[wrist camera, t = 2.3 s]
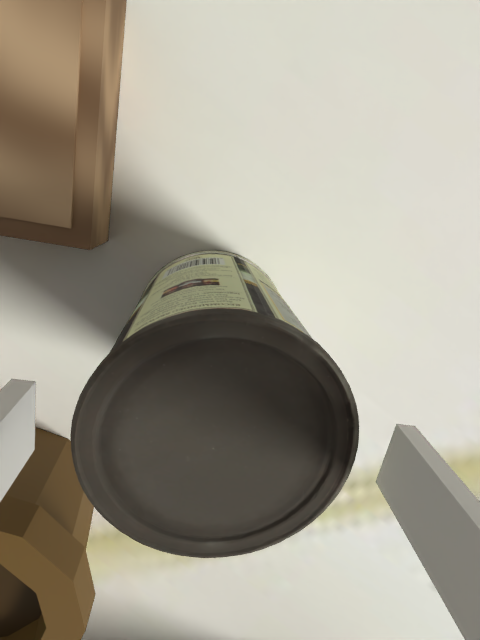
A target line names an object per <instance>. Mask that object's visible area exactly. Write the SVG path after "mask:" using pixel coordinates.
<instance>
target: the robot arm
mask: <svg viewBox="0 0 480 640" xmlns="http://www.w3.org/2000/svg"><path fill="white" fill-rule="evenodd" d="M35 402H36V382H35V381H26V380H18V379H11V380H10V381H9V382H8V383H7V384H6V385H5V386H4V387H3V388H2V389H1V390H0V502H1V500H2V499H3V497H4V496H5V494H6V493H7V491H8V490H9V488H10V487H11V485H12V483H13V482H14V480H15V479H16V477H17V476H18V474H19V473H20V471H21V470H22V468H23V467H24V465H25V463H26V462H27V460H28V459H29V457H30V456H31V454H32V453H33V451H34V450H35ZM376 483H377V485H378V487H379V488H380V490H381V492H382V494H383V496H384V497H385V499H386V501H387V503H388V504H389V506H390V508H391V510H392V511H393V513H394V515H395V517H396V519H397V520H398V522H399V524H400V526H401V527H402V529H403V531H404V533H405V534H406V536H407V538H408V540H409V542H410V543H411V545H412V547H413V549H414V550H415V552H416V554H417V556H418V557H419V559H420V561H421V563H422V565H423V566H424V568H425V570H426V572H427V573H428V575H429V577H430V579H431V580H432V582H433V584H434V586H435V588H436V589H437V591H438V593H439V595H440V596H441V598H442V600H443V602H444V603H445V605H446V607H447V609H448V611H449V612H450V614H451V616H452V618H453V619H454V621H455V623H456V625H457V626H458V628H459V630H460V632H461V634H462V635H463V637H464V639H465V640H480V501H479V500H478V499H477V498H476V497H475V495H474V494H473V493H472V492H471V491H470V490H469V488H468V487H467V486H466V485H465V484H464V483H463V481H462V480H461V479H460V478H459V477H458V476H457V474H456V473H455V472H454V471H453V470H452V469H451V467H450V466H449V465H448V464H447V463H446V462H445V460H444V459H443V458H442V457H441V456H440V455H439V453H438V452H437V451H436V450H435V449H434V448H433V446H432V445H431V444H430V443H429V442H428V441H427V439H426V438H425V437H424V436H423V435H422V434H421V432H420V431H419V430H418V429H417V428H416V427H415V426H410V425H401V424H396V427H395V430H394V433H393V435H392V438H391V441H390V444H389V446H388V449H387V452H386V455H385V458H384V460H383V463H382V466H381V469H380V471H379V474H378V477H377V480H376Z"/></svg>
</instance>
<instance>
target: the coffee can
mask: <svg viewBox="0 0 480 640" xmlns="http://www.w3.org/2000/svg"><path fill="white" fill-rule="evenodd" d="M358 440H359V420H358V412H357V406H356V403H355V399H354V396H353V394H352V391H351V388H350V386H349V384H348V382H347V380H346V379H345V377H344V375H343V373H342V371H341V370H340V368H339V367H338V366H337V364H336V363H335V362H334V360H333V359H332V358H331V357H330V355H329V354H328V353H327V352H326V351H325V350H324V349H323V348H322V347H321V346H320V345H319V344H318V343H317V342H316V341H314V340H313V339H312V338H311V336H310V335H309V333H308V332H307V330H306V329H305V328H304V326H303V325H302V324H301V322H300V321H299V320H298V318H297V317H296V316H295V314H294V313H293V312H292V310H291V309H290V307H289V306H288V305H287V303H286V302H285V301H284V299H283V298H282V297H281V295H280V294H279V292H278V291H277V289H276V287H275V285H274V284H273V282H272V281H271V279H270V278H269V276H268V275H267V274H266V273H265V272H263V271H262V270H261V269H260V268H259V267H258V266H257V265H255V264H254V263H252V262H251V261H249V260H247V259H245V258H243V257H241V256H239V255H235V254H232V253H229V252H223V251H218V250H216V251H201V252H195V253H191V254H188V255H185V256H182V257H180V258H178V259H176V260H174V261H172V262H170V263H169V264H167V265H166V266H165V267H163V268H162V269H161V270H160V271H159V272H158V273H157V274H156V275H155V276H154V277H153V278H152V279H151V281H150V282H149V284H148V285H147V287H146V289H145V291H144V293H143V295H142V298H141V300H140V302H139V303H138V305H137V307H136V308H135V310H134V312H133V314H132V315H131V317H130V319H129V321H128V322H127V324H126V326H125V327H124V329H123V331H122V332H121V334H120V336H119V337H118V339H117V341H116V343H115V345H114V346H113V348H112V350H111V351H110V353H109V354H108V355H107V357H106V358H105V359H104V360H103V361H102V362H101V363H100V365H99V366H98V367H97V369H96V370H95V371H94V373H93V374H92V376H91V377H90V378H89V380H88V382H87V384H86V385H85V387H84V389H83V391H82V393H81V394H80V397H79V400H78V402H77V405H76V408H75V412H74V415H73V419H72V427H71V452H72V459H73V464H74V467H75V472H76V474H77V478H78V481H79V483H80V485H81V487H82V490H83V491H84V493H85V494H86V496H87V498H88V500H89V501H90V502H91V503H92V505H93V506H94V507H95V509H96V510H97V511H98V512H99V513H100V514H101V515H102V516H103V517H104V518H105V519H106V520H107V521H108V522H109V523H110V524H112V525H113V526H114V527H115V528H117V529H118V530H119V531H120V532H122V533H124V534H126V535H128V536H129V537H130V538H132V539H133V540H135V541H137V542H139V543H141V544H143V545H146V546H149V547H151V548H154V549H157V550H159V551H162V552H167V553H171V554H175V555H181V556H189V557H199V558H216V557H228V556H236V555H242V554H247V553H252V552H255V551H258V550H261V549H264V548H267V547H269V546H272V545H275V544H277V543H279V542H281V541H283V540H285V539H286V538H289V537H290V536H292V535H294V534H296V533H297V532H299V531H301V530H302V529H304V528H305V527H306V526H307V525H309V524H310V523H311V522H313V521H314V520H315V519H316V518H317V517H318V516H319V515H321V514H322V513H323V512H324V511H325V509H326V508H327V507H328V506H329V505H330V504H331V503H332V502H333V500H334V499H335V498H336V496H337V495H338V494H339V492H340V491H341V489H342V487H343V486H344V484H345V482H346V480H347V478H348V476H349V474H350V472H351V469H352V466H353V463H354V461H355V456H356V452H357V448H358Z"/></svg>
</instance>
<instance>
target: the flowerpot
mask: <svg viewBox="0 0 480 640" xmlns="http://www.w3.org/2000/svg"><path fill="white" fill-rule="evenodd" d="M93 509H94V506H93V505H92V503H91V502H90V501H89V500H88V498H87V496H86V494H85V493H84V491H83V490H82V487H81V485H80V483H79V481H78V478H77V474H76V472H75V467H74V464H73V459H72V452H71V441H70V440H69V439H67V438H64V437H61V436H59V435H56V434H53V433H50V432H47V431H45V430H42V429H39V428H36V427H35V450H34V451H33V453H32V454H31V456H30V457H29V459H28V460H27V462H26V463H25V465H24V467H23V468H22V470H21V471H20V473H19V474H18V476H17V477H16V479H15V480H14V482H13V483H12V485H11V487H10V488H9V490H8V491H7V493H6V494H5V496H4V497H3V499H2V500H1V502H0V640H81V638H82V636H83V634H84V632H85V630H86V627H87V623H88V619H89V616H90V612H91V608H92V605H93V601H94V598H95V590H94V585H93V581H92V577H91V572H90V568H89V563H88V559H87V554H86V546H87V541H88V535H89V530H90V525H91V519H92V514H93Z"/></svg>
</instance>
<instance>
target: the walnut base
mask: <svg viewBox="0 0 480 640" xmlns="http://www.w3.org/2000/svg"><path fill="white" fill-rule="evenodd" d="M125 13H126V0H0V235H1V236H7V237H13V238H20V239H26V240H32V241H38V242H44V243H50V244H56V245H63V246H69V247H75V248H81V249H87V250H91V249H93V248H95V247H97V246H99V245H101V244H103V243H105V242H107V241H108V233H109V221H110V208H111V195H112V182H113V169H114V156H115V143H116V130H117V117H118V104H119V91H120V78H121V65H122V52H123V39H124V26H125Z"/></svg>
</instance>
